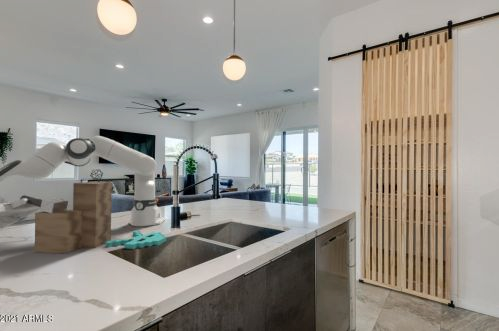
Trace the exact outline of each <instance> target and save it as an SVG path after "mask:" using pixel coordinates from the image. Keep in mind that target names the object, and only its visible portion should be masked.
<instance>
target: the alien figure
mask: <svg viewBox="0 0 499 331" xmlns="http://www.w3.org/2000/svg"><path fill="white" fill-rule="evenodd" d="M132 236H133V237H132V238H124V239H116V240H111V241H107V242H105V247H109V248H111V247H113V246H117V247H118V246H121V245H124V246H123V247H124V249H131V250H135V249H137V248H145V247H152V246H160V245H162V244H163V243H165V242H167V237H166V236H165V235H163V233H161V232H158V231H150V232H149V233H147V234H144V235H143V233H142V232H141V231H140V230H134V231H132Z"/></svg>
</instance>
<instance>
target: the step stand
mask: <svg viewBox="0 0 499 331" xmlns="http://www.w3.org/2000/svg"><path fill="white" fill-rule="evenodd" d="M72 184H73V185H72V186H73V190H72V191H73V192H72V195H73V196H72V197H73V198H72V200H73V201H72V209H67V210H66V211H61V212H56V213H48V212H44V211H38V212H37V211H36V212H34V253H44V254H45V253H46V254H48V253H49V254H68V253H70V252H73V251H75V250H78V249H80V248H92V249H93V248H95V249H96V248H98V247H100V246H102V245H104V244H105V242H107V241H112V239H111V238H112V189H113V188H112V187H113V186H112V184H113V182H112V181H107V182H105V181H85V182H84V181H83V182H73V183H72Z"/></svg>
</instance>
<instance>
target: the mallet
mask: <svg viewBox="0 0 499 331" xmlns="http://www.w3.org/2000/svg"><path fill="white" fill-rule="evenodd" d="M22 198H27V200H28V202H27V204H31V205H34V206H38V207H41V208H40V209H39V211H40V212H42V211H44V212H48V213H56V212H61V211H66V210H68V205H69V204H68V203H69V200H68V199H64V198H63V199H62V198H59V197H53V198H47V199H41V198H38V197H37V198H33V196H29V195H26V194H24V195H22V196H20V197H19V200H21V199H22Z"/></svg>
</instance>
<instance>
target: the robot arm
mask: <svg viewBox="0 0 499 331" xmlns="http://www.w3.org/2000/svg"><path fill="white" fill-rule="evenodd" d="M94 156H95V157H100V158H101V159H104V160H107V161H109V162H111V163H113V164H116V165H118V166H121V167H122V168H125V169H128V170H129V171H133V172H134V197H133V198H134V199H133V204H132V205H133V208H131V212H130V220H129V221H128V224H130V226H132V227H133V226H134V227H149V226H156V225H157V226H158V225H161V224H162V223H163V222H165V221H166V217H163V216H162V209H161V208H160V207H158V206H157V204H158V203H159V199H158V198H156V179H155V178H156V177H155V175H156V174H155V171H156V170H157V166H158V165H157V162H156V160H155V159H154V158H153V157H151V156H150V155H147V154H145V153H143V152H140V151H138V150H136V149H134V148H131V147H129V146H126V145H124V144H122V143H120V142H119V141H116V140H114V139H110V138H108V137H105V136H101V135H94V136H93V137H91V138H81V137H77V138H73V139H70V140H69V141H67V143H66V145H62V144H60V143H59V142H54V141H51V142H47V144H44V145H43V146H42V147H40V148H39V149H37V151H35V152H34V153H33V154H32V155H31V156H30V157H28V158H26V159H22V160H19V159H15V160H13V161H11V162H10V163H7V164H6V165H4V166H3V167H1V168H0V183H2V182H3V181H5V180H6V179H7V178H8V177H11V176H19V177H24V178H29V179H33V180H34V179H35V180H36V179H37V180H41V179H45V178H48V177H49V176H50V175H51V174H53V173H54V172H55V170H57V168H58V167H59V166H60V165H62V164H63V163H65V164H67V165H70V166H71V165H72V166H74V167H84V166H86V165H88V163H89V162H90V161H91V157H94ZM32 197H33V196H32ZM33 198H37V199H38V197H37V196H34V197H33ZM27 202H28V200H27V198H22V199H21V200H20V199H19V200H16V201H10V200H9V199H7V198H5V197H2V196H0V230H3V229H4V228H7V227H9V226H10V225H13V224H15V223H17V222H19V221H23V220H25V219H27V218H29V217H30V215H32V214H35V213H37V211H40V208H41V207H38V206H34V205H31V204H27Z"/></svg>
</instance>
